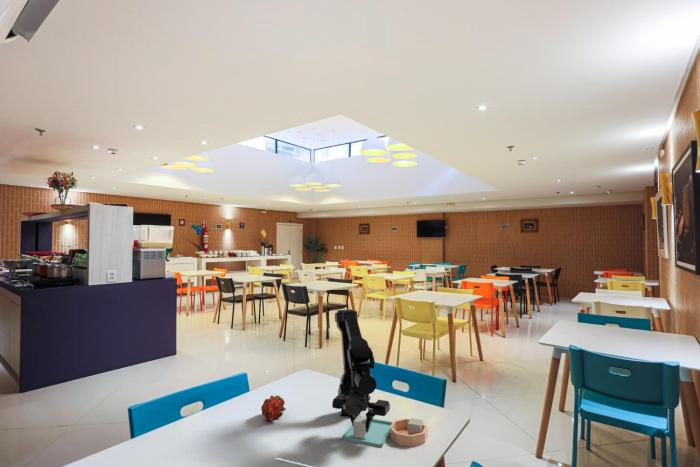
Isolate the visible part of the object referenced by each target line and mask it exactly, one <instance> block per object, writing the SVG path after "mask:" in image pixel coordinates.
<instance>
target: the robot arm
mask: <svg viewBox="0 0 700 467" xmlns="http://www.w3.org/2000/svg"><path fill="white" fill-rule="evenodd" d="M336 311H337V312H335V313H334V322H335V323H336V328H337V329H338V331H339V332H340V333H341V335H340V336H341V348H342V364H343V374H342V375H341V377H340V380H339V381H340V383H339V384H338V389H337V395H336V397H334V398H333V399H332V404H331V406H332V408H333V409H336V410H340V412H341V413H340V414H339V417H343V418H349V420H350V422H351V425H353V421H354V420H355V419H356V418H357V417H358V416H360V415H361V413H362V412H366V411H367V412H366V413H365V417H366V432H368V431H369V428H370V425H371V422H372V419H373V418H375V416H379V417H386V416H387V414H388V413H389V412H390V410H391V404H390V402H389V401H388V400H385V399H377V400H376V402H370V400H371V394H373V393H374V392H375V390H376V388H377V381H376V379H375V377H374V376H373V374H372V373H371V370H372V369H375V364H376V361H375V357H374V352H373V350H372V348H371V347H370V345H369V343H368V340H366V339H364V338H363V335H362V333H361V330H360V326H359V322H358V321H359V319H358V311H357V310H354V309H337V310H336Z"/></svg>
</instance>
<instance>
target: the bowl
mask: <svg viewBox="0 0 700 467" xmlns="http://www.w3.org/2000/svg"><path fill="white" fill-rule="evenodd" d="M410 419H411V418H406V417H405V418H401V419H400V418H399V419H396V420H393V421H392V422H393V423H392V424H391V426H390V436H389V438H390V439H391V440H392V441H393V442H395V444H396V445H401V446H405V447H410V448H411V447H416V446H420V445H424V444H426V442H427V439H428V437H429V435H428V434H429V432H428V428H429V427H428V426H427V424H425V423H424V422H423V432H422V433H418V434H414V435H408V422H409V420H410Z"/></svg>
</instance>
